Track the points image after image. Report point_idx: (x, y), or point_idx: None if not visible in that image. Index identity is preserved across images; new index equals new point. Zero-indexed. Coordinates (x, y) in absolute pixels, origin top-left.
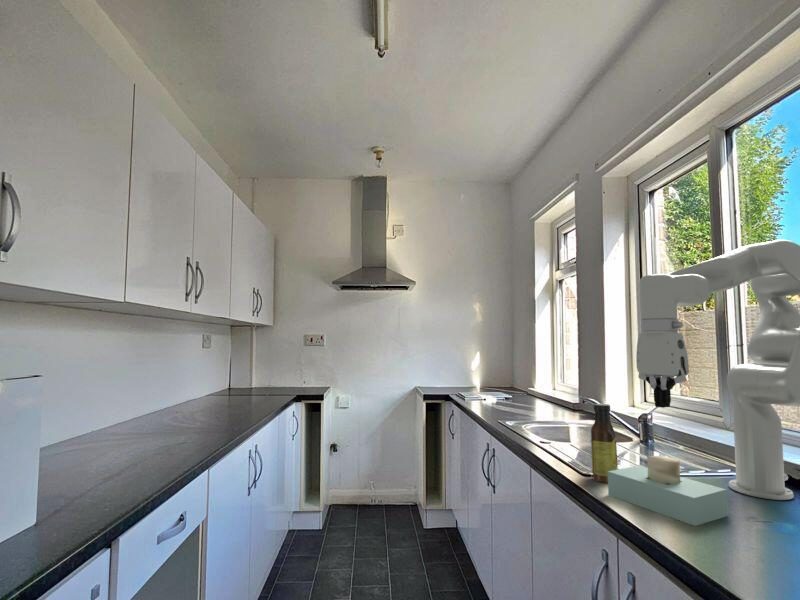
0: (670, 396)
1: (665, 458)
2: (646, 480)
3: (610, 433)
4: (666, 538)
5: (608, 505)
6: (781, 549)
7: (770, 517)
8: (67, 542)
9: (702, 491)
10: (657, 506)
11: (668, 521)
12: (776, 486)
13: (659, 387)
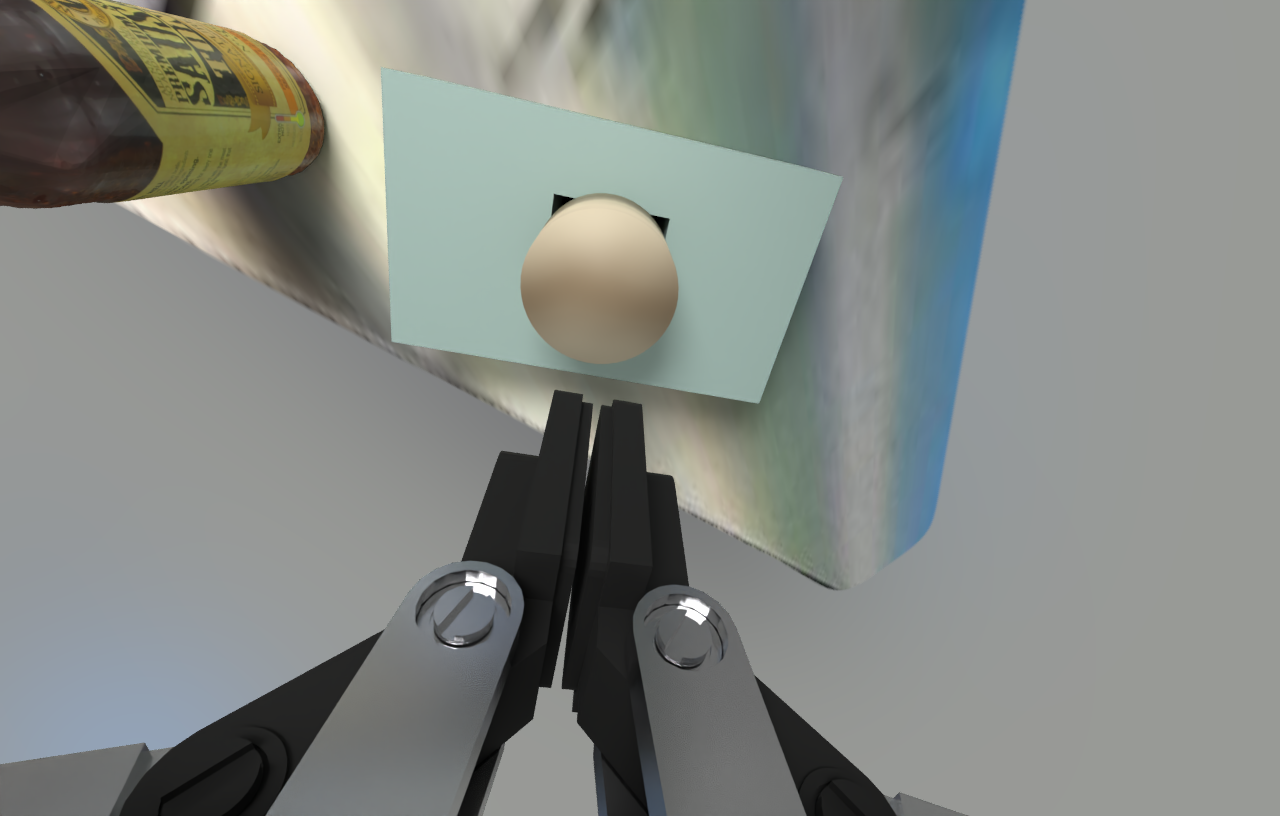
0: (680, 531)
1: (595, 251)
2: None
3: (94, 145)
4: (707, 490)
5: (497, 402)
6: (940, 344)
7: (947, 13)
8: None
9: (767, 302)
10: None
11: None
12: None
13: (536, 688)
